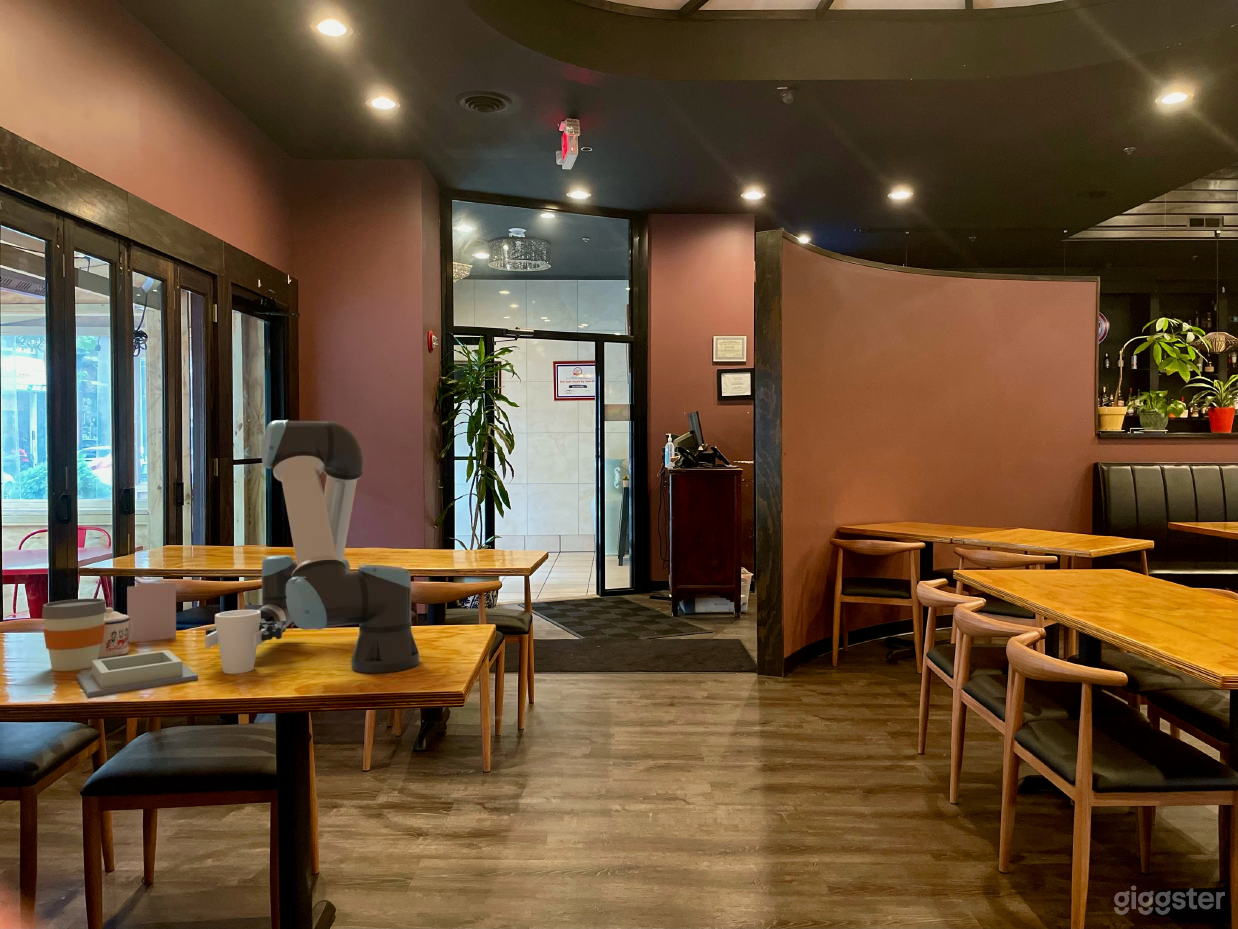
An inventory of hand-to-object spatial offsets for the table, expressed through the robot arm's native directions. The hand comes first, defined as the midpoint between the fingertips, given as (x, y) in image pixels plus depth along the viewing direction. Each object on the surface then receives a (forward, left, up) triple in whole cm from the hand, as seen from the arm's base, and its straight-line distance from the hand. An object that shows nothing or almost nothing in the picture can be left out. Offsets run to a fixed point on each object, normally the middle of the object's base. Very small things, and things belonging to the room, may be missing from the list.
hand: (230, 641), depth 176 cm
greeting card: (+57, +7, -8) cm, 58 cm away
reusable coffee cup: (+35, +26, -8) cm, 44 cm away
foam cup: (+4, -2, -8) cm, 9 cm away
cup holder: (+11, +17, -8) cm, 21 cm away
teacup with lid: (+45, +17, -8) cm, 48 cm away
